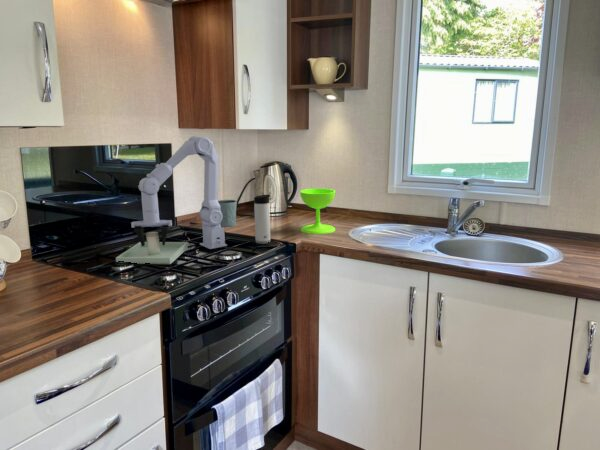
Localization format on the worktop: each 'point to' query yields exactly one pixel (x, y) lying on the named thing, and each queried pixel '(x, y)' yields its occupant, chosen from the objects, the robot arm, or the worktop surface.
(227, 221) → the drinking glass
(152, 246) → the spice pot
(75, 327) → the worktop surface
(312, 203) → the wineglass
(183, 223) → the worktop surface
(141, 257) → the tray
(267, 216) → the travel mug
